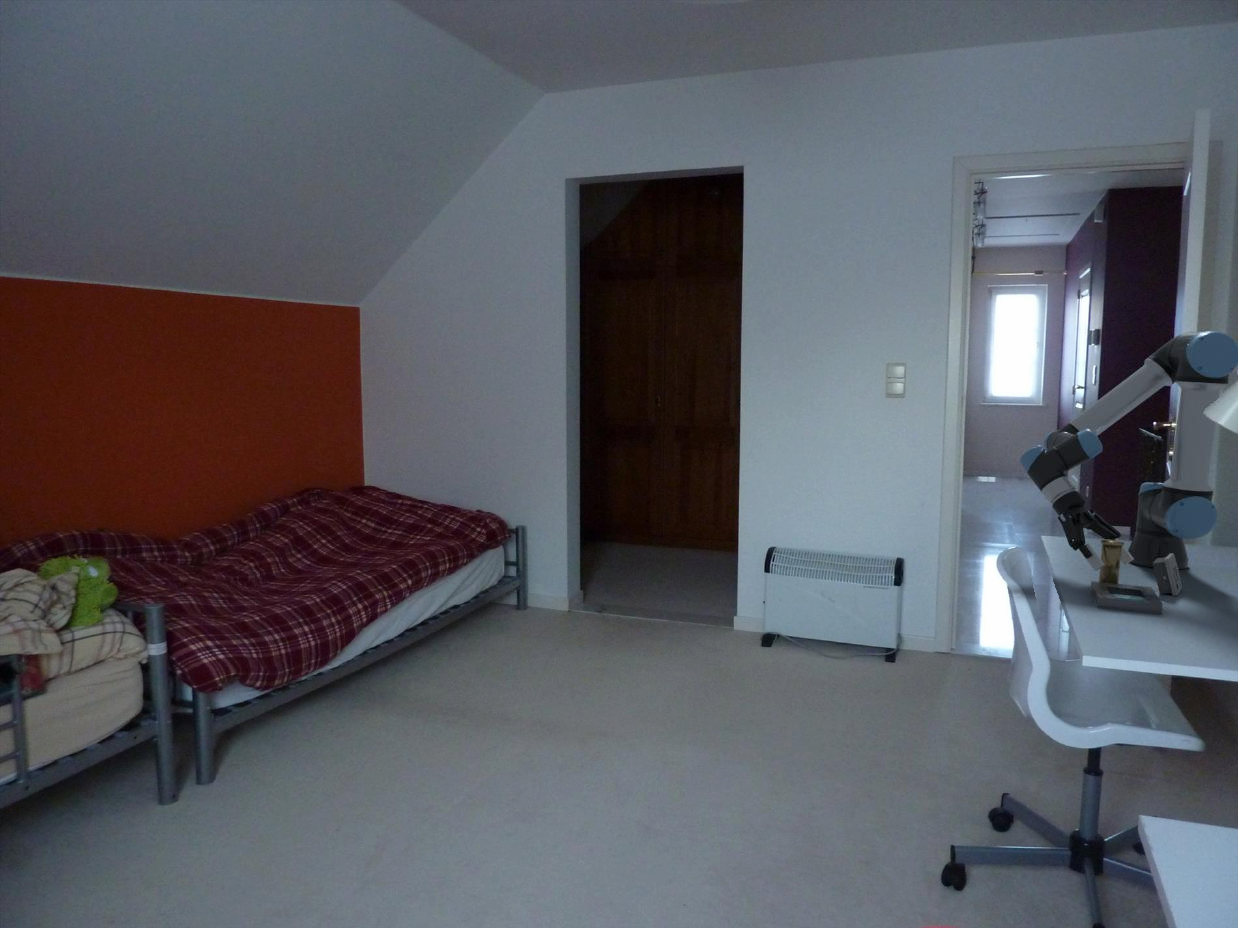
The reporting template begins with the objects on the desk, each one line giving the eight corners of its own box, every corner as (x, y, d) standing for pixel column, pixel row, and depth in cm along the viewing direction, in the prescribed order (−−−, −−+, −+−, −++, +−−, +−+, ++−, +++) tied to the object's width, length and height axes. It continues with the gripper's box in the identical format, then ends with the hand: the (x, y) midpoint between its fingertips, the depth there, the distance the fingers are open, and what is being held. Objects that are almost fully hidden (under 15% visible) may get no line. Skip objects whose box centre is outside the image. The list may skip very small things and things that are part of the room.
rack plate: (1090, 590, 227) (1091, 580, 227) (1150, 597, 222) (1151, 586, 222) (1097, 607, 212) (1098, 595, 212) (1161, 614, 208) (1162, 602, 207)
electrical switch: (1176, 597, 223) (1176, 559, 222) (1152, 595, 226) (1151, 558, 226) (1182, 590, 230) (1181, 553, 230) (1158, 588, 234) (1158, 552, 233)
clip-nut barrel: (1106, 580, 238) (1110, 538, 237) (1124, 585, 234) (1128, 542, 232) (1092, 581, 236) (1096, 540, 235) (1110, 586, 231) (1114, 544, 230)
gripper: (1080, 502, 253) (1129, 567, 242) (1025, 509, 239) (1075, 578, 229) (1100, 486, 248) (1152, 551, 237) (1046, 492, 234) (1098, 562, 224)
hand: (1114, 565), depth 233 cm, fingers open, 13 cm apart
